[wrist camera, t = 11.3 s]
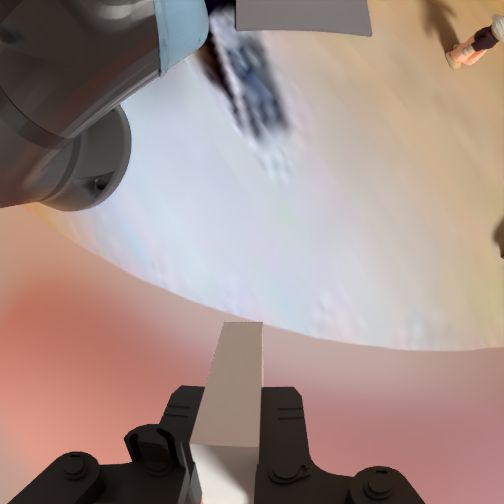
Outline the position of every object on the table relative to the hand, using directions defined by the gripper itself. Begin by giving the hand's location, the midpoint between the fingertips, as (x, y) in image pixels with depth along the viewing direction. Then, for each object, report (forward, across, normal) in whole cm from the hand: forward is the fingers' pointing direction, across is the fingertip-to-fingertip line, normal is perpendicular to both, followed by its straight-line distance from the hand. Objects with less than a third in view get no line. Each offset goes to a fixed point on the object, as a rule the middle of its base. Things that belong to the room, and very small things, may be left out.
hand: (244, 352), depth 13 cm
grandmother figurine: (+25, +27, +25) cm, 44 cm away
